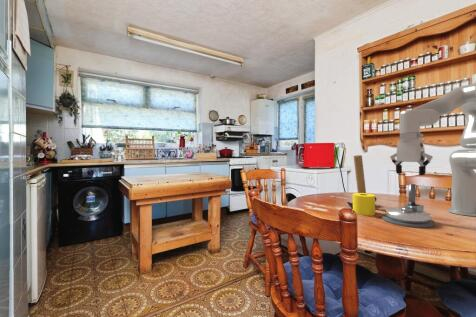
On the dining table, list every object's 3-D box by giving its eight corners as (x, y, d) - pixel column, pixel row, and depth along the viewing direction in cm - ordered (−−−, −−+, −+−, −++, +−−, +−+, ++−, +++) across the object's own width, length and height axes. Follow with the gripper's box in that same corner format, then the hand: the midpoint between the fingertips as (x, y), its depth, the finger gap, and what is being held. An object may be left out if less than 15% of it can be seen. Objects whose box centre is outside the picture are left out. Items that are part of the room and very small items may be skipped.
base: (398, 213, 116) (398, 211, 116) (444, 223, 99) (444, 221, 99) (372, 218, 109) (372, 215, 108) (418, 230, 91) (418, 227, 91)
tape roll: (376, 212, 119) (376, 194, 118) (372, 216, 111) (372, 197, 111) (355, 209, 125) (355, 192, 125) (350, 213, 118) (350, 195, 118)
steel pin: (409, 209, 108) (409, 183, 107) (415, 210, 106) (416, 184, 106) (407, 210, 106) (408, 184, 106) (414, 211, 104) (414, 184, 104)
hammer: (356, 214, 124) (350, 159, 121) (348, 212, 129) (341, 159, 125) (377, 202, 134) (371, 152, 131) (368, 201, 138) (363, 152, 135)
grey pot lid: (416, 226, 93) (416, 212, 93) (378, 216, 108) (378, 204, 107) (438, 220, 100) (438, 207, 100) (399, 212, 114) (399, 201, 114)
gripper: (436, 135, 100) (436, 175, 101) (395, 138, 116) (395, 172, 116) (426, 135, 97) (427, 176, 98) (385, 138, 113) (386, 173, 113)
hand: (410, 174), depth 107 cm, fingers open, 9 cm apart
